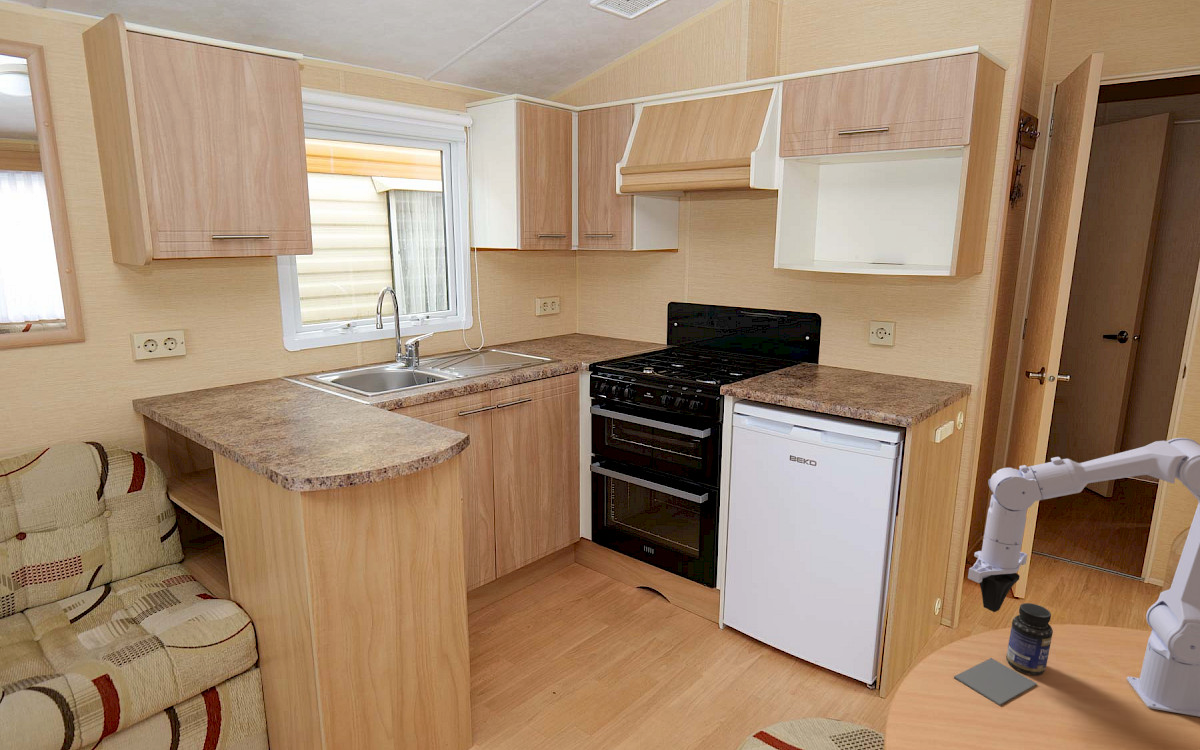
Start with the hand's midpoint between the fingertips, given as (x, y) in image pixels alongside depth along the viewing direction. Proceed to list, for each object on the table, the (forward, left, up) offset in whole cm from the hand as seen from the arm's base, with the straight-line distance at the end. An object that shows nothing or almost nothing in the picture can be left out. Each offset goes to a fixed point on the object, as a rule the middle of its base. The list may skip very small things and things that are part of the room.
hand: (991, 608), depth 123 cm
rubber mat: (-1, +6, -10) cm, 12 cm away
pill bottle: (-7, -1, -11) cm, 13 cm away
